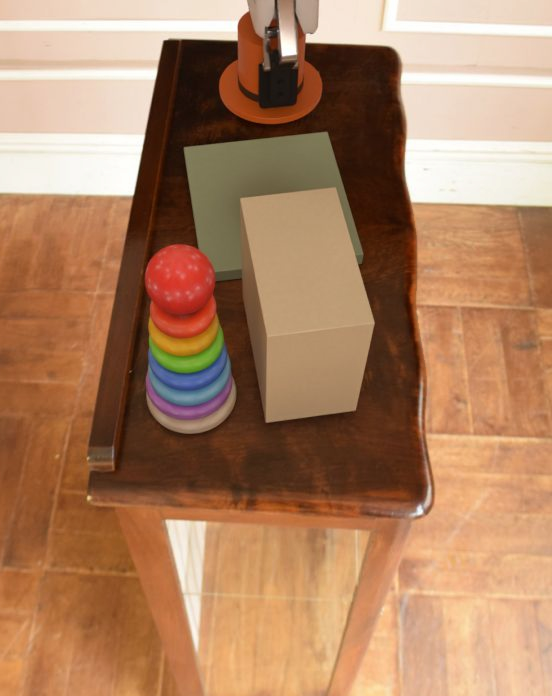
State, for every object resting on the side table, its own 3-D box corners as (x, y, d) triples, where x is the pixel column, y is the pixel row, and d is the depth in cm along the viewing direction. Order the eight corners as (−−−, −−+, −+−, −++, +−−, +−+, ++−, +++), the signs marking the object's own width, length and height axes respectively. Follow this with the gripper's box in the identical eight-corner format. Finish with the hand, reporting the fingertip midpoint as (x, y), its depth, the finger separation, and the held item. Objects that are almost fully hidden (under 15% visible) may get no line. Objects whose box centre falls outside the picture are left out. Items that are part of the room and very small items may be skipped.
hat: (311, 52, 71) (315, -11, 66) (331, 118, 66) (337, 55, 61) (213, 62, 70) (210, -2, 65) (226, 129, 65) (224, 66, 60)
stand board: (326, 141, 87) (327, 131, 86) (362, 263, 78) (363, 254, 76) (184, 157, 86) (183, 146, 85) (203, 283, 76) (202, 273, 75)
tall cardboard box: (326, 292, 76) (338, 186, 64) (357, 416, 68) (378, 322, 57) (242, 302, 75) (239, 197, 63) (265, 428, 68) (266, 336, 56)
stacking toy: (228, 443, 67) (219, 313, 51) (138, 431, 68) (101, 298, 52) (243, 367, 71) (239, 225, 55) (158, 356, 72) (130, 212, 56)
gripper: (359, -87, 48) (333, 143, 63) (307, -212, 57) (296, 17, 72) (238, -77, 47) (242, 153, 63) (205, -205, 56) (216, 24, 71)
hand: (271, 78), depth 67 cm, fingers closed on hat, 5 cm apart
